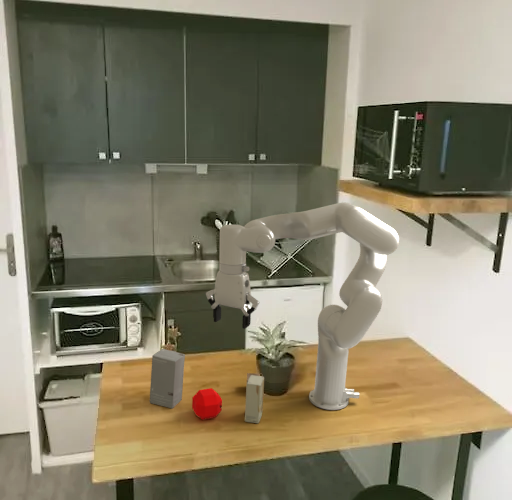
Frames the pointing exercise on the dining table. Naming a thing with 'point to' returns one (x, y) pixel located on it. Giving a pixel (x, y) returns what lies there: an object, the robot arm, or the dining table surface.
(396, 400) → the dining table surface
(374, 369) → the dining table surface
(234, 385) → the dining table surface
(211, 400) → the ball
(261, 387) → the skincare box
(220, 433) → the dining table surface
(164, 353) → the skincare box
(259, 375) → the walnut block
